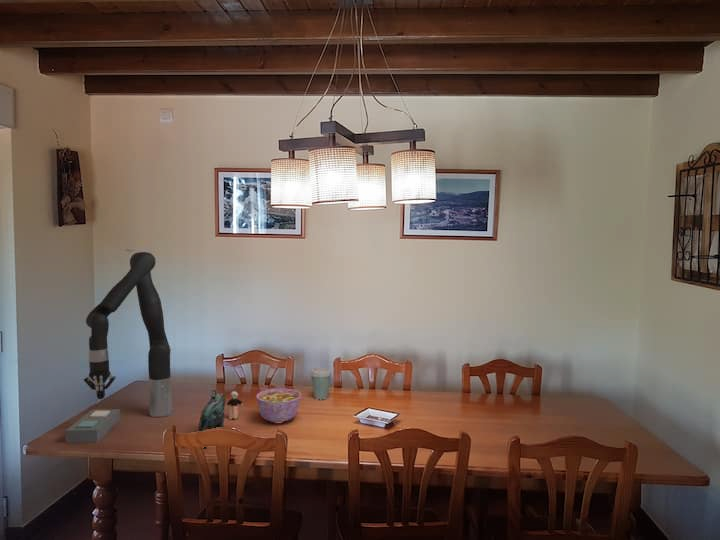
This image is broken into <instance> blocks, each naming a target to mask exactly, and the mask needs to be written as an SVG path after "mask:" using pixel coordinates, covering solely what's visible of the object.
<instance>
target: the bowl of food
mask: <svg viewBox="0 0 720 540" xmlns="http://www.w3.org/2000/svg"><path fill="white" fill-rule="evenodd" d="M255 396H256V397H255V398H256V401H257V406H258V410H259V413H260V414H261V417H262V418H263V419H265V420H266V421H268V422H270V421H271V422H270V423H272V422H284V421H286V422H287V421H289V420H292V419H293V418H294V417H295V416H296V414H297V412H298V408H299V405H300V401H301V397H302V394H301V392H300V391H297V390H295V389H292V388H291V389H290V388H270V389H266V390H263V391H260V392H259V393H257V394H256V395H255ZM284 423H285V422H284Z"/></svg>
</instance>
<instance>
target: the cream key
mask: <svg viewBox="0 0 720 540" xmlns="http://www.w3.org/2000/svg"><path fill="white" fill-rule="evenodd" d="M108 414H110V411H95V412H94V413H93V414H91V415H90V417H106V416H107V415H108Z"/></svg>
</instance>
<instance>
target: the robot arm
mask: <svg viewBox="0 0 720 540" xmlns="http://www.w3.org/2000/svg"><path fill="white" fill-rule="evenodd" d="M156 261H157V260H156V258H155V256H154V255H153V254H152V253H150V252H148V251H147V252H146V251H139V252H135V253H134V254H132V255H131V257H130V259H129V266H130V269H129V270H128V272H126V274H125V275H124V276H123V278H121V280H119V281H118V282H117V283H116V284H115V285H114V286H113V287H112V288H111V289H110V290H109V291H108V293H107V294H106V295H105V297H104V298H103V299H102V300H101V302H100V303H99V304H98V305H96V306H95V307H94V308H93V309H92V310H91V311H90V312H89V313H88V315H87V316H86V319H85V324H86V325H87V327H89V328H90V329H91V331H90V337H89V338H88V349H89V351H88V362H89V363H88V365H89V366H88V367H89V373H88V376H87V377H85V378H84V379H83V381H84V383H85V384H87V386H88V387H89V388H90V389H91V390H92V391H93V390H95V392H96V397H97V399H98V400H103V399H104V398H105V397H106V392H105V391H106V390H107V389H109V388H110V386H111V385H112V384H113V383H114V381H115V380H116V379H117V376H115V375H112V373H111V371H110V359H109V358H110V355H109V347H108V333H109V325H110V323H109V318H108V317H109V316H110V315H111V314H112V313H115V312H116V311H117V310H118V309H119V308H120V307H121V305H122V304H123V302H124V301H125V300H126V298H127V297H128V296H129V294H130V293H131V292H132V291H133V290H134V288H135V287H136V292H137V298H138V305H139V310H140V315H141V318H142V322H143V324H144V326H145V329H146V331H147V335H148V341H149V350H148V354H147V355H148V356H147V357H148V358H147V359H148V360H147V363H148V365H147V366H148V391H149V392H148V397H149V399H148V404H149V406H148V407H149V411H148V413H149V416H150V417H153V418H162V417H168V416H170V415H171V413H172V412H173V391H172V390H171V382H172V381H171V347H170V344H169V340H168V337H167V334H166V331H165V321H164V318H165V317H164V313H163V312H164V311H163V307H162V306H163V305H162V300H161V298H160V295H159V293H158V291H157V289H156V287H155V285H154V282H153V279H152V273H151V271H152V270H153V269H154V268H155V266H156ZM107 380H108V382H107ZM106 382H107V383H106Z"/></svg>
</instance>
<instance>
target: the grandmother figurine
mask: <svg viewBox="0 0 720 540" xmlns="http://www.w3.org/2000/svg"><path fill="white" fill-rule="evenodd" d="M230 396H231V398H230V399H229V400H228V402H227V403H226V404H225V409H228V408H229V414H228V415H229V417H228V419H232V418H233V420H234V419H237V418H238V419H239V405H240V406H241V408H242V407H244V405H243V402H242V400H240V399H238V397H239V393H238V392H237V391H231V393H230ZM238 419H237V420H238Z"/></svg>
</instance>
